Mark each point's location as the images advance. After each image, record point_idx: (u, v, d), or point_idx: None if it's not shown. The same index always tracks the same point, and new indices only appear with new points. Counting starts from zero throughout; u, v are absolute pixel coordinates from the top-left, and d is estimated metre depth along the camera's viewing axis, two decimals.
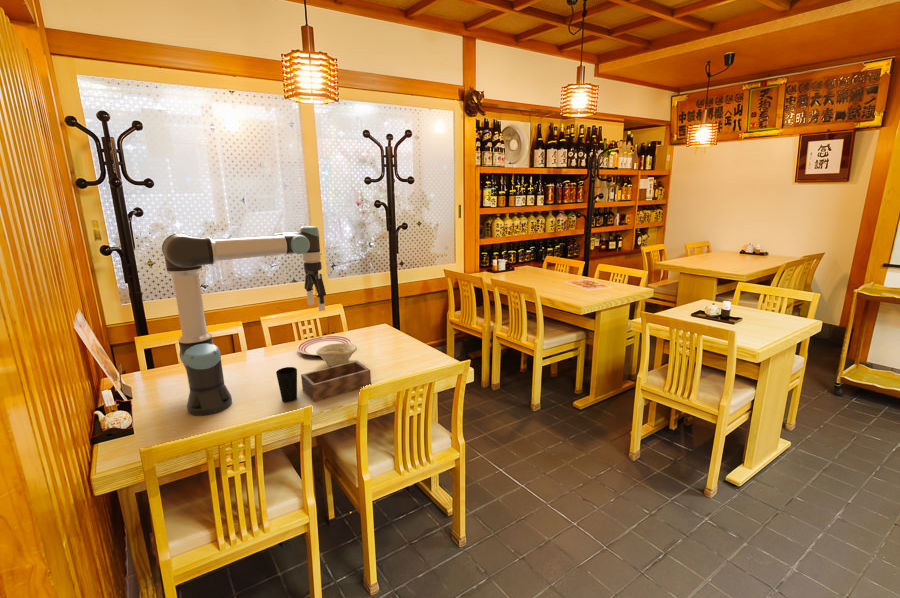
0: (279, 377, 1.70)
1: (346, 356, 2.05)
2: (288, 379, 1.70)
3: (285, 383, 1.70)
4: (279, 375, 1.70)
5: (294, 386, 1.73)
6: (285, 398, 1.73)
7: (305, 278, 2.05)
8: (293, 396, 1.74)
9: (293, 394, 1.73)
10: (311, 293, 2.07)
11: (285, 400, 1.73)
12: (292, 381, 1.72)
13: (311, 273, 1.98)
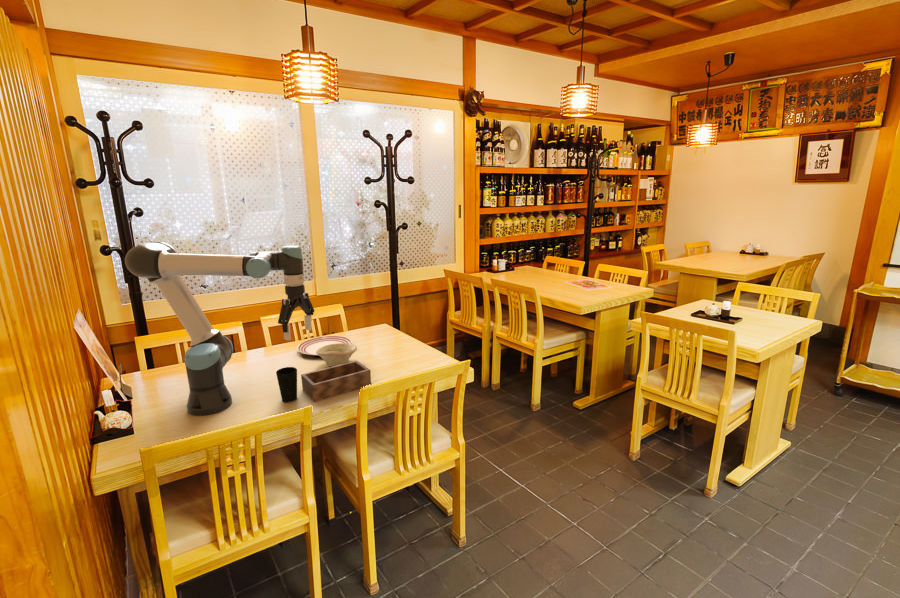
0: (279, 377, 1.70)
1: (346, 356, 2.05)
2: (288, 379, 1.70)
3: (285, 383, 1.70)
4: (279, 375, 1.70)
5: (294, 386, 1.73)
6: (285, 398, 1.73)
7: None
8: (293, 396, 1.74)
9: (293, 394, 1.73)
10: (308, 318, 1.89)
11: (285, 400, 1.73)
12: (292, 381, 1.72)
13: None
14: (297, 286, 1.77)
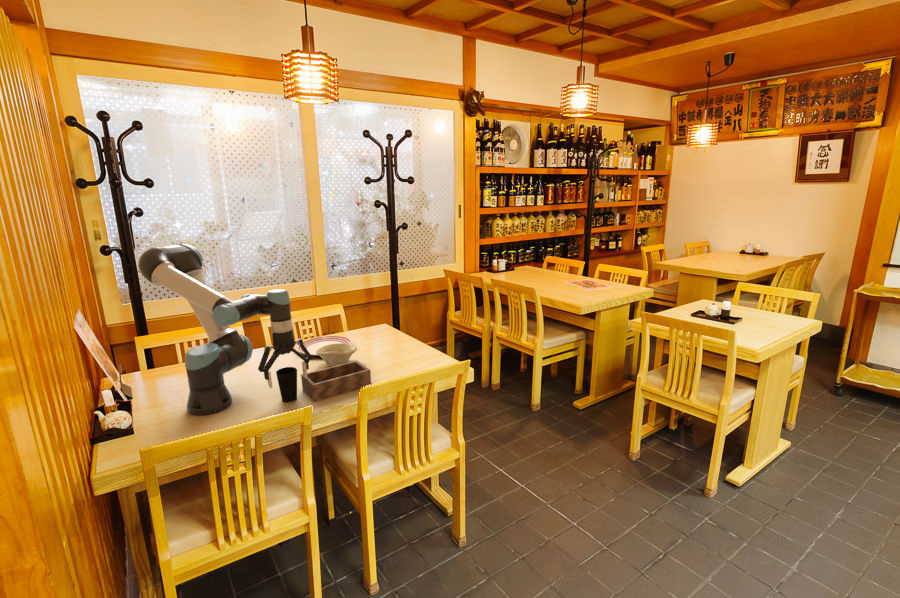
0: (279, 377, 1.70)
1: (346, 356, 2.05)
2: (288, 379, 1.70)
3: (285, 383, 1.70)
4: (279, 375, 1.70)
5: (294, 386, 1.73)
6: (285, 398, 1.73)
7: None
8: (293, 396, 1.74)
9: (293, 394, 1.73)
10: (303, 365, 1.76)
11: (285, 400, 1.73)
12: (292, 381, 1.72)
13: None
14: (279, 333, 1.66)
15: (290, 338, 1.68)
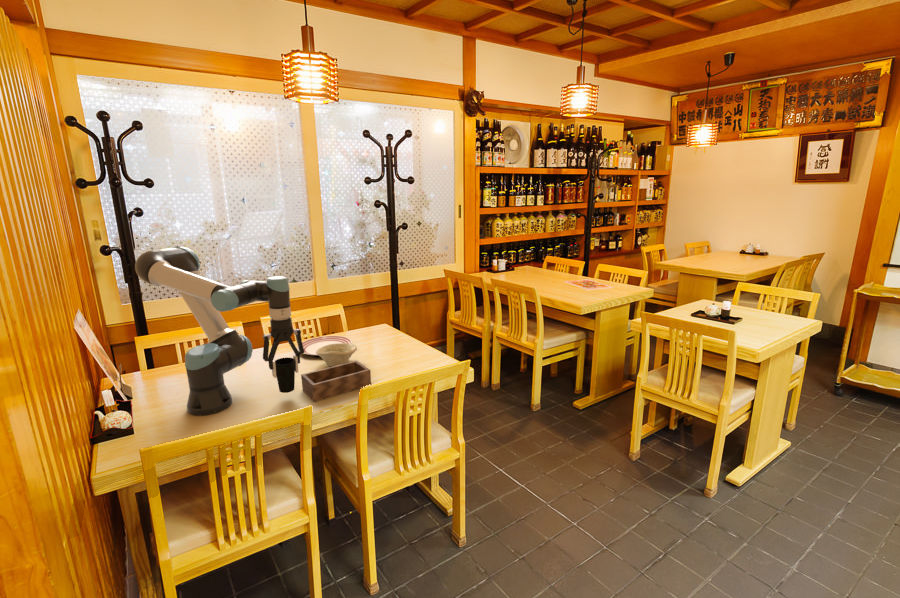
0: (277, 367, 1.69)
1: (346, 356, 2.05)
2: (285, 369, 1.69)
3: (283, 373, 1.70)
4: (277, 365, 1.69)
5: (292, 377, 1.72)
6: (282, 388, 1.72)
7: None
8: (290, 387, 1.73)
9: (290, 384, 1.73)
10: None
11: (282, 390, 1.72)
12: (290, 372, 1.71)
13: None
14: (278, 321, 1.65)
15: (288, 326, 1.67)
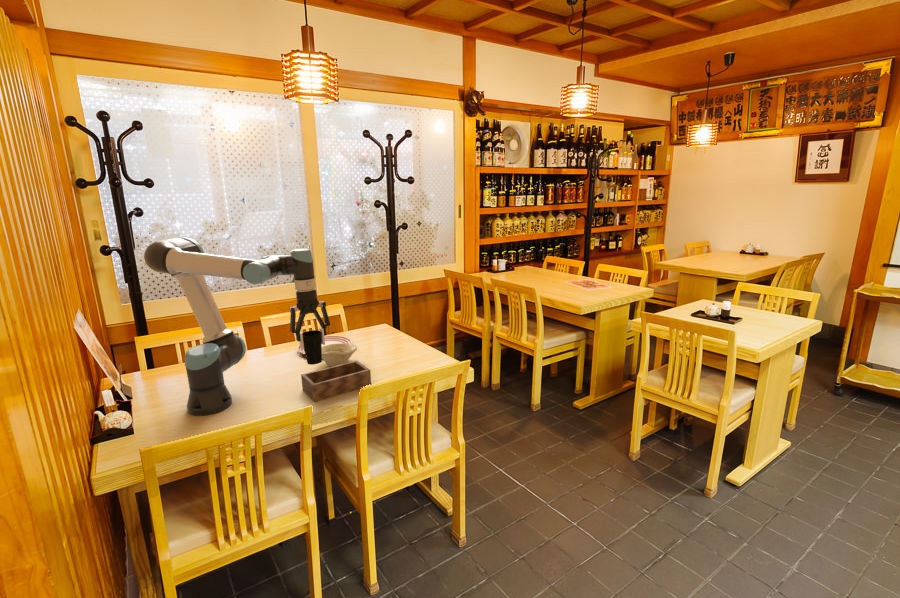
0: (304, 339, 1.71)
1: (346, 356, 2.05)
2: (312, 341, 1.72)
3: (310, 345, 1.72)
4: (304, 337, 1.71)
5: (319, 348, 1.74)
6: (310, 360, 1.74)
7: None
8: (318, 358, 1.75)
9: (318, 356, 1.74)
10: (321, 331, 1.76)
11: (310, 362, 1.74)
12: (317, 343, 1.73)
13: None
14: (303, 292, 1.67)
15: (314, 297, 1.69)
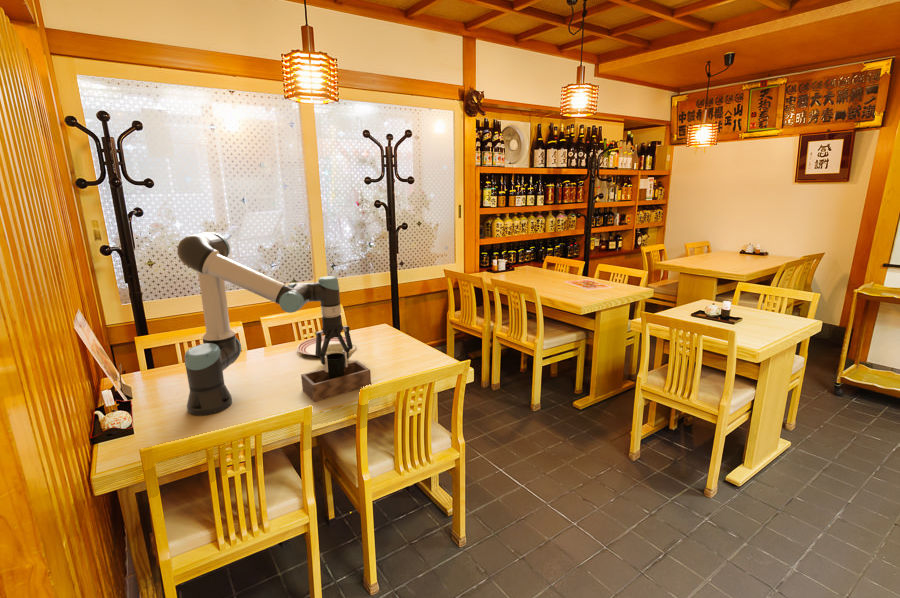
0: (328, 362, 1.79)
1: None
2: (337, 364, 1.79)
3: (334, 368, 1.79)
4: (329, 360, 1.79)
5: (342, 371, 1.82)
6: None
7: None
8: None
9: None
10: (344, 354, 1.84)
11: None
12: (340, 366, 1.81)
13: None
14: (329, 318, 1.75)
15: (339, 323, 1.77)
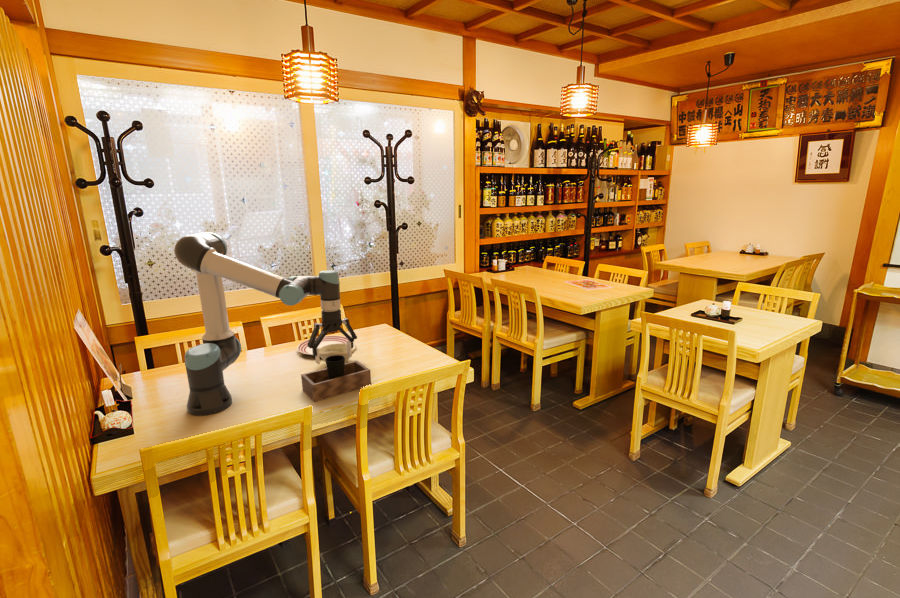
0: (329, 364, 1.79)
1: (346, 356, 2.05)
2: (337, 366, 1.79)
3: (334, 370, 1.80)
4: (329, 362, 1.79)
5: (342, 373, 1.82)
6: None
7: None
8: None
9: None
10: (348, 344, 1.84)
11: None
12: (341, 368, 1.81)
13: None
14: (329, 312, 1.74)
15: (338, 317, 1.76)
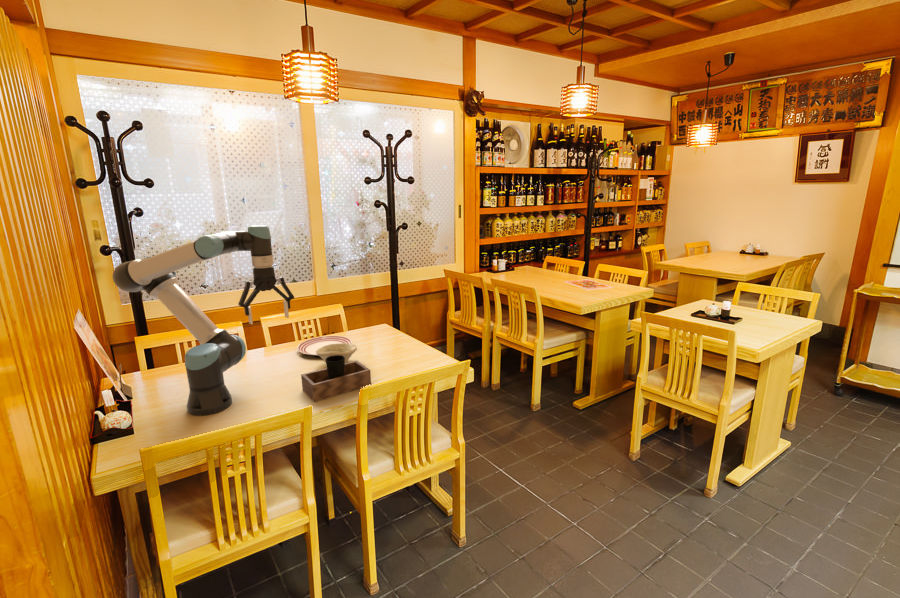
0: (329, 364, 1.79)
1: (346, 356, 2.04)
2: (337, 366, 1.79)
3: (334, 370, 1.80)
4: (329, 362, 1.79)
5: (342, 373, 1.82)
6: None
7: None
8: None
9: None
10: (285, 304, 1.76)
11: None
12: (341, 368, 1.81)
13: None
14: (260, 268, 1.66)
15: (271, 274, 1.68)
